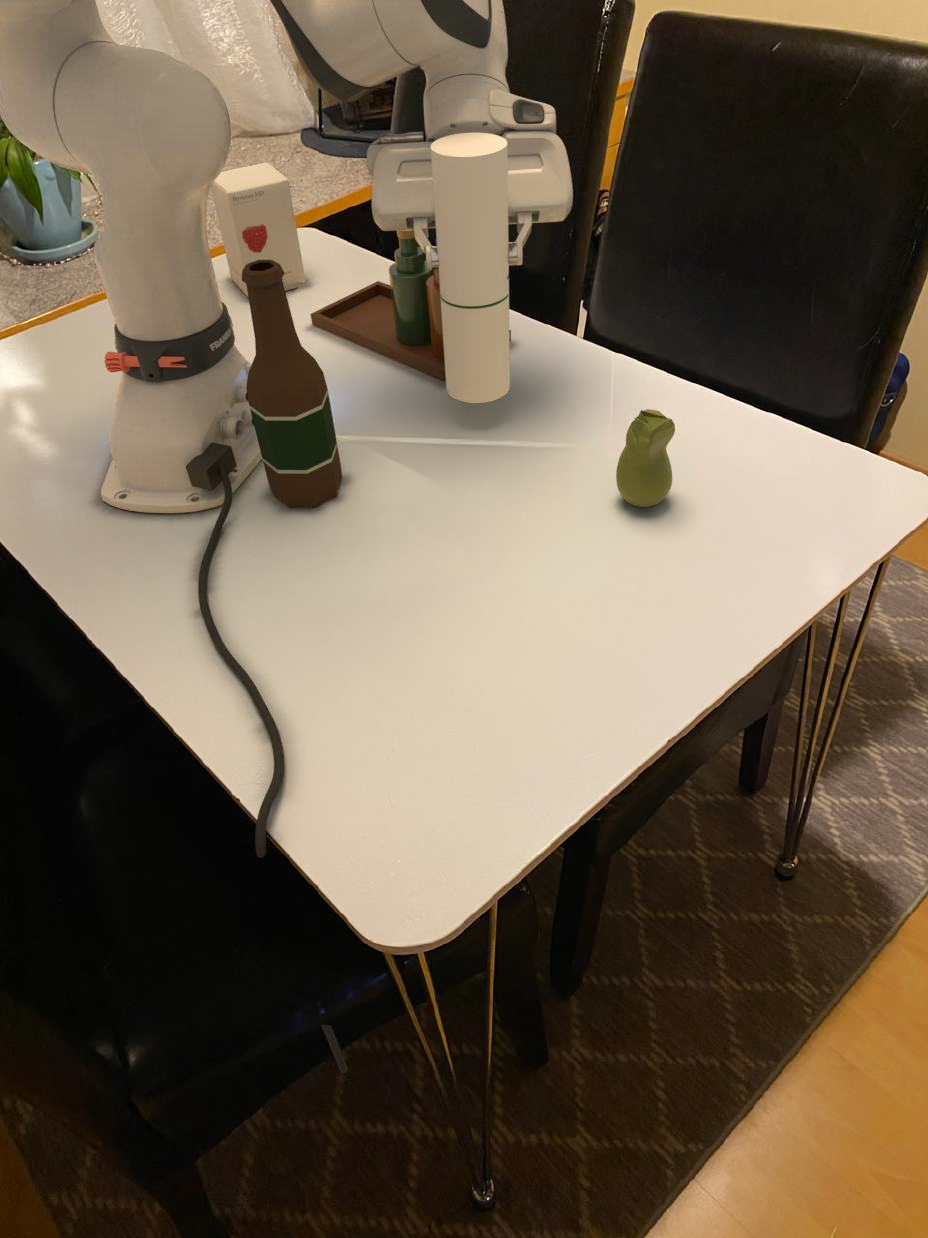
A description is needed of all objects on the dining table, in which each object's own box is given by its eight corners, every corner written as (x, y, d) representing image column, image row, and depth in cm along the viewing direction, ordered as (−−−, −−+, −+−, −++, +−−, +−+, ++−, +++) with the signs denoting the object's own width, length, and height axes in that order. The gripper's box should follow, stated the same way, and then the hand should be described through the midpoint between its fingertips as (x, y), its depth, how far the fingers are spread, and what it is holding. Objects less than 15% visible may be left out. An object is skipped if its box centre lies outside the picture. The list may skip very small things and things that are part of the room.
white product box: (249, 301, 129) (224, 192, 118) (230, 279, 134) (205, 173, 124) (308, 285, 131) (289, 177, 121) (287, 264, 137) (267, 159, 127)
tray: (511, 344, 116) (511, 329, 114) (444, 385, 109) (443, 369, 108) (379, 295, 128) (378, 280, 127) (312, 328, 122) (310, 313, 120)
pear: (638, 478, 94) (646, 393, 87) (680, 498, 91) (692, 412, 84) (604, 502, 91) (610, 416, 84) (646, 524, 88) (656, 437, 81)
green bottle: (434, 345, 115) (425, 235, 105) (392, 345, 116) (379, 235, 106) (440, 325, 119) (432, 217, 109) (400, 325, 120) (388, 217, 110)
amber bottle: (472, 361, 112) (466, 248, 102) (428, 360, 113) (418, 248, 103) (477, 339, 116) (472, 229, 106) (435, 339, 116) (426, 229, 107)
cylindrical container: (511, 370, 103) (509, 131, 85) (508, 403, 98) (504, 155, 80) (450, 370, 104) (435, 133, 86) (442, 402, 98) (425, 157, 81)
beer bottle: (266, 476, 97) (211, 256, 81) (336, 461, 99) (296, 241, 82) (277, 517, 92) (221, 290, 75) (351, 501, 93) (312, 274, 77)
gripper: (362, 117, 88) (368, 257, 87) (570, 105, 88) (578, 246, 87) (369, 152, 94) (375, 282, 94) (564, 141, 94) (571, 272, 94)
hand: (475, 265), depth 91 cm, fingers closed on cylindrical container, 7 cm apart
